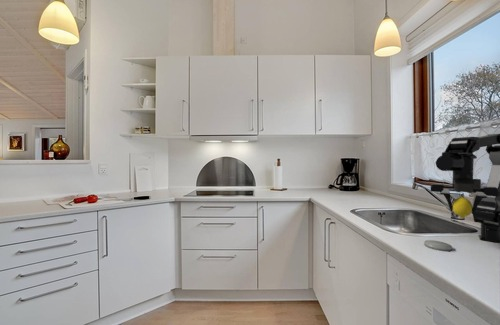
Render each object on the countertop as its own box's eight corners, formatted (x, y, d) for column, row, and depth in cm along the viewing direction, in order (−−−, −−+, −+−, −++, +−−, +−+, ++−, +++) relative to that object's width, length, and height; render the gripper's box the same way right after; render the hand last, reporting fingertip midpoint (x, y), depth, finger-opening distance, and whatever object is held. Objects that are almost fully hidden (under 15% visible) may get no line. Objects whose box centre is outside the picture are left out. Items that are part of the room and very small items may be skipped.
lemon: (461, 216, 91) (462, 195, 90) (476, 219, 85) (476, 197, 85) (448, 216, 90) (448, 195, 90) (461, 219, 85) (462, 197, 85)
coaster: (424, 241, 91) (424, 238, 91) (451, 246, 86) (451, 243, 86) (423, 247, 85) (423, 244, 85) (452, 253, 80) (452, 250, 80)
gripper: (430, 170, 87) (429, 212, 87) (503, 172, 75) (502, 221, 76) (431, 169, 96) (430, 207, 96) (497, 171, 84) (496, 214, 84)
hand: (461, 212), depth 88 cm, fingers closed on lemon, 5 cm apart
